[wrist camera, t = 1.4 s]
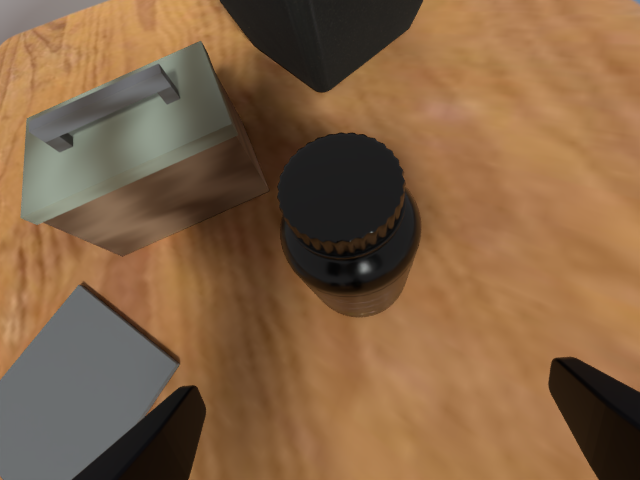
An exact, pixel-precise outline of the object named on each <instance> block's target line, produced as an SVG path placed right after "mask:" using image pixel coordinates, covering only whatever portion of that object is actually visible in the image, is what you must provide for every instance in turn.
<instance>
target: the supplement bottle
mask: <svg viewBox="0 0 640 480" xmlns="http://www.w3.org/2000/svg"><path fill="white" fill-rule="evenodd" d="M405 184H406V183H405V180H404V178H403V169H402V168H401V167H400V166H399V160H398V159H397V158H396V157H394V155H393V152H392V151H391V150H389V149H387V148H386V146H385V144H383V143H380V142H378V141H377V140H376V139H375V138H370V137H367V136H366V135H364V134H359V135H357V134H355V133H347V134H346V133H338V134H329V135H327V136H325V137H320V138H317V139H316V140H315V141H313V142H309V143H307V144H306V146H305V147H303V148H301V149H299V150H298V151H297V153H296V154H295V155H294V156H292V157H291V158H290V161H289V163H288V164H286V165H285V167H284V171H283V173H282V174H281V175H280V182H279V184H278V186H277V187H278V191H279V192H278V196H277V198H278V200H279V202H280V210H281V212H282V213H283V215H282V219H281V224H280V239H281V245H282V249H283V252H284V255H285V257H286V259H287V261H288V263H289V264H290V266H291V267H292V269H293V270H294V272H295V273H296V274H297V275H298V276H299V277H300V278H301V279H302V281H303V282H304V283H305V284H306V285H307V286H308V287H309V288H310V289H311V290H312V291H313V292H314V293H315V294H316V295H317V296H318V297H319V298H320V299H321V300H322V301H323V302H324V303H325V304H326V305H327V306H328V307H329V308H331V309H332V310H334V311H336V312H338V313H340V314H343V315H346V316H350V317H368V316H372V315H375V314H378V313H380V312H382V311H384V310H386V309H387V308H388V307H390V306H391V305H392V304H393V303H394V302H395V301H396V300H397V298H398V297H399V296H400V294H401V292H402V290H403V288H404V286H405V283H406V280H407V278H408V275H409V272H410V269H411V266H412V264H413V261H414V258H415V255H416V252H417V249H418V246H419V242H420V237H421V218H420V213H419V209H418V207H417V204H416V202H415V200H414V198H413V196H412V194H411V193H410V191H409V190H408V189H407V188H406V186H405Z"/></svg>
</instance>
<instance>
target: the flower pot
mask: <svg viewBox="0 0 640 480" xmlns="http://www.w3.org/2000/svg"><path fill="white" fill-rule="evenodd" d="M220 2H221V3H222V4H223V6H224V7H225V8H226V10H227V11H228V13H229V14H230V15H231V16H232V18H233V19H234V20H235V22H236V23H237V24H238V26H239V27H240V28H241V30H242V31H243V32H244V33H245V35H246V36H247V37H248V38H249V40H250V41H251V42H252V43H253V45H254V46H255V47H257V48H258V49H260V50H261V51H262V52H264V53H265V54H267V55H268V56H269V57H270V58H272V59H273V60H275V61H276V62H277V63H279V64H280V65H281V66H283V67H284V68H285V69H287V70H288V71H290V72H291V73H292V74H294V75H295V76H296V77H298V78H299V79H300V80H302V81H303V82H304V83H306V84H307V85H309V86H310V87H311V88H313V89H314V90H315V91H317V92H327V91H329V90H331V89H332V88H333V87H335V86H336V85H337V84H338V83H340V82H341V81H342V80H344V79H345V78H346V77H347V76H349V75H350V74H351V73H353V72H354V71H355V70H357V69H358V68H359V67H360V66H362V65H363V64H364V63H366V62H367V61H368V60H369V59H371V58H372V57H373V56H375V55H376V54H377V53H378V52H380V51H381V50H382V49H383V48H385V47H386V46H387V45H389V44H390V43H391V42H393V41H394V40H395V39H396V38H398V37H399V36H400V35H402V34H403V33H404V32H405V31H407V30H408V29H409V28H410V26H411V24H412V22H413V20H414V18H415V16H416V14H417V12H418V10H419V8H420V6H421V4H422V2H423V0H220Z"/></svg>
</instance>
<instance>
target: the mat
mask: <svg viewBox="0 0 640 480" xmlns="http://www.w3.org/2000/svg"><path fill="white" fill-rule="evenodd" d="M179 365H180V364H179V363H178V362H177V361H176V360H174V359H173V358H172V357H171V356H169V355H168V354H167V353H166V352H164V351H163V350H162V349H161V348H159V347H158V346H157V345H156V344H154V343H153V342H152V341H151V340H149V339H148V338H147V337H146V336H145V335H143V334H142V333H141V332H140V331H138V330H137V329H136V328H135V327H133V326H132V325H131V324H130V323H128V322H127V321H126V320H125V319H123V318H122V317H121V316H120V315H118V314H117V313H116V312H115V311H114V310H112V309H111V308H110V307H109V306H107V305H106V304H105V303H104V302H102V301H101V300H100V299H99V298H97V297H96V296H95V295H94V294H92V293H91V292H90V291H89V290H87V289H86V288H85V287H84V286H81V285H78V286H77V288H76V289H75V290H74V291H73V292H72V294H71V295H70V296H69V297H68V298H67V300H66V301H65V302H64V303H63V305H62V306H61V307H60V308H59V309H58V311H57V312H56V313H55V314H54V315H53V317H52V318H51V319H50V320H49V322H48V323H47V324H46V325H45V326H44V328H43V329H42V330H41V331H40V333H39V334H38V335H37V336H36V337H35V339H34V340H33V341H32V342H31V343H30V345H29V346H28V347H27V348H26V350H25V351H24V352H23V353H22V354H21V356H20V357H19V358H18V359H17V360H16V362H15V363H14V364H13V365H12V367H11V368H10V369H9V370H8V371H7V373H6V374H5V375H4V376H3V377H2V379H1V380H0V476H1V478H2V479H3V480H72V479H73V478H74V477H75V476H76V475H77V474H79V473H80V472H81V471H82V470H83V469H84V468H86V467H87V466H88V465H89V464H90V463H91V462H93V461H94V460H95V459H96V458H97V457H98V456H100V455H101V454H102V453H103V452H104V451H105V450H107V449H108V448H109V447H110V446H111V445H112V444H114V443H115V442H116V441H117V440H118V439H119V438H121V437H122V436H123V435H124V434H125V433H126V432H128V431H129V430H130V429H131V428H132V427H133V426H135V425H136V424H137V423H138V422H139V421H141V420H142V419H143V418H144V417H145V415H146V414H147V412H148V411H149V409H150V408H151V406H152V405H153V403H154V402H155V400H156V399H157V397H158V396H159V394H160V393H161V391H162V390H163V388H164V387H165V386H166V384H167V383H168V381H169V380H170V378H171V377H172V375H173V374H174V372H175V371H176V369H177V368H178V366H179Z"/></svg>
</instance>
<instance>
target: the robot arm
mask: <svg viewBox="0 0 640 480" xmlns="http://www.w3.org/2000/svg"><path fill="white" fill-rule="evenodd" d="M548 385H549V390H550V393H551V395H552V397H553V399H554V400H555V402H556V404H557V406H558V408H559V410H560V412H561V413H562V415H563V417H564V419H565V421H566V423H567V425H568V426H569V428H570V430H571V432H572V434H573V436H574V438H575V439H576V441H577V443H578V445H579V447H580V449H581V450H582V452H583V454H584V456H585V458H586V459H587V461H588V463H589V465H590V466H591V468H592V470H593V471H594V473H595V474H596V476H597V478H598V479H599V480H640V392H638V391H636V390H635V389H633V388H631V387H629V386H627V385H625V384H623V383H622V382H620V381H618V380H616V379H614V378H612V377H610V376H609V375H607V374H605V373H603V372H601V371H599V370H597V369H596V368H594V367H592V366H590V365H588V364H586V363H584V362H583V361H581V360H579V359H577V358H574V357H560V358H554V359H553V360H552V362H551V368H550V375H549V382H548ZM205 415H206V407H205V404H204V401H203V399H202V397H201V395H200V392H199V390H198V388H197V387H196V386H194V385H192V386H182V387H179V388H178V389H177V390H176V391H174V392H173V393H172V394H171V395H170V396H169V397H167V398H166V399H165V400H164V401H163V402H162V403H160V404H159V405H158V406H157V407H156V408H155V409H153V410H152V411H151V412H150V413H149V414H148V415H146V416H145V417H144V418H143V419H142V420H141V421H139V422H138V423H137V424H136V425H135V426H133V427H132V428H131V429H130V430H129V431H128V432H126V433H125V434H124V435H123V436H122V437H121V438H119V439H118V440H117V441H116V442H115V443H114V444H112V445H111V446H110V447H109V448H108V449H107V450H105V451H104V452H103V453H102V454H101V455H100V456H98V457H97V458H96V459H95V460H94V461H93V462H91V463H90V464H89V465H88V466H87V467H86V468H84V469H83V470H82V471H81V472H80V473H79V474H77V475H76V476H75V477H74V478H73V479H72V480H188V479H189V476H190V472H191V469H192V465H193V461H194V458H195V454H196V450H197V446H198V442H199V439H200V435H201V431H202V427H203V423H204V420H205Z"/></svg>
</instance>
